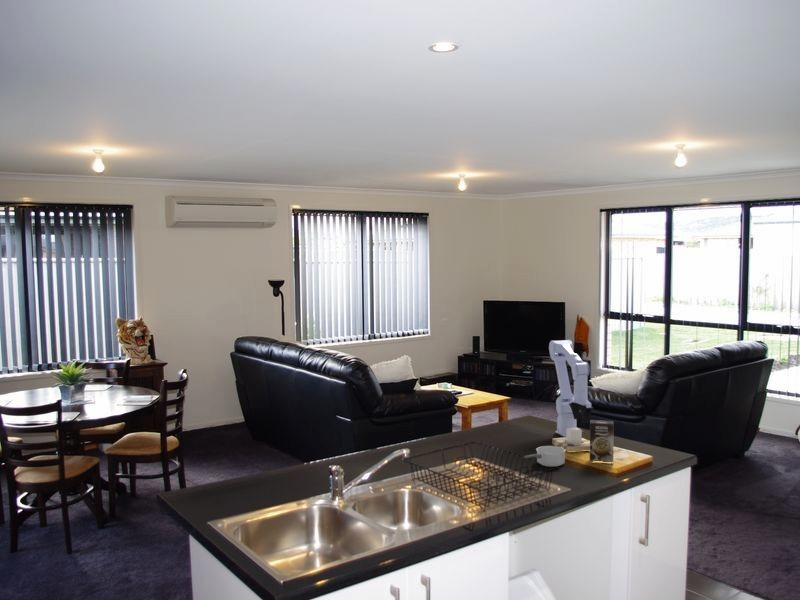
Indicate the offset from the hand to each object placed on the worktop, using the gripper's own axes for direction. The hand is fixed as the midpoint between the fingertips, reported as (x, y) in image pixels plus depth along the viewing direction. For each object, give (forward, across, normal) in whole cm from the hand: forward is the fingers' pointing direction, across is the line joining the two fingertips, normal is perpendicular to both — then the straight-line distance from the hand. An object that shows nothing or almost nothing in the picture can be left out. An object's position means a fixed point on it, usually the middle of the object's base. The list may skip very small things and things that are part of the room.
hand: (580, 420), depth 294 cm
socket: (+10, +5, -6) cm, 13 cm away
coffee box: (+10, +27, -6) cm, 29 cm away
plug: (+10, +5, -6) cm, 13 cm away
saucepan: (+10, +24, -30) cm, 40 cm away
